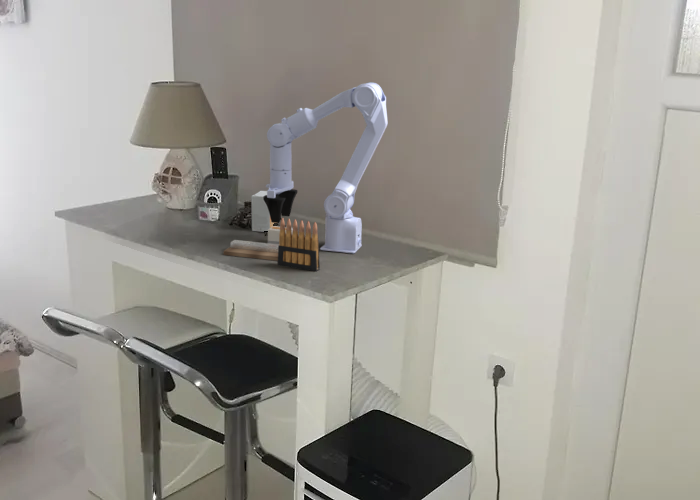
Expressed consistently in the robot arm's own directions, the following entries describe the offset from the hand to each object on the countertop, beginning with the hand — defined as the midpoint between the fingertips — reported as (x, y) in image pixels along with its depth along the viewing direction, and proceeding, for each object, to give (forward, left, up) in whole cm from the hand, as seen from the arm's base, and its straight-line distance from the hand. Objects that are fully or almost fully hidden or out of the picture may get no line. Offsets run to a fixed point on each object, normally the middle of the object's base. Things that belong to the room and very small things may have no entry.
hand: (280, 219), depth 187 cm
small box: (+10, -13, -7) cm, 18 cm away
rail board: (0, +10, -7) cm, 13 cm away
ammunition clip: (-12, +18, -7) cm, 23 cm away
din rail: (0, +10, -7) cm, 13 cm away
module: (0, 0, -7) cm, 7 cm away
